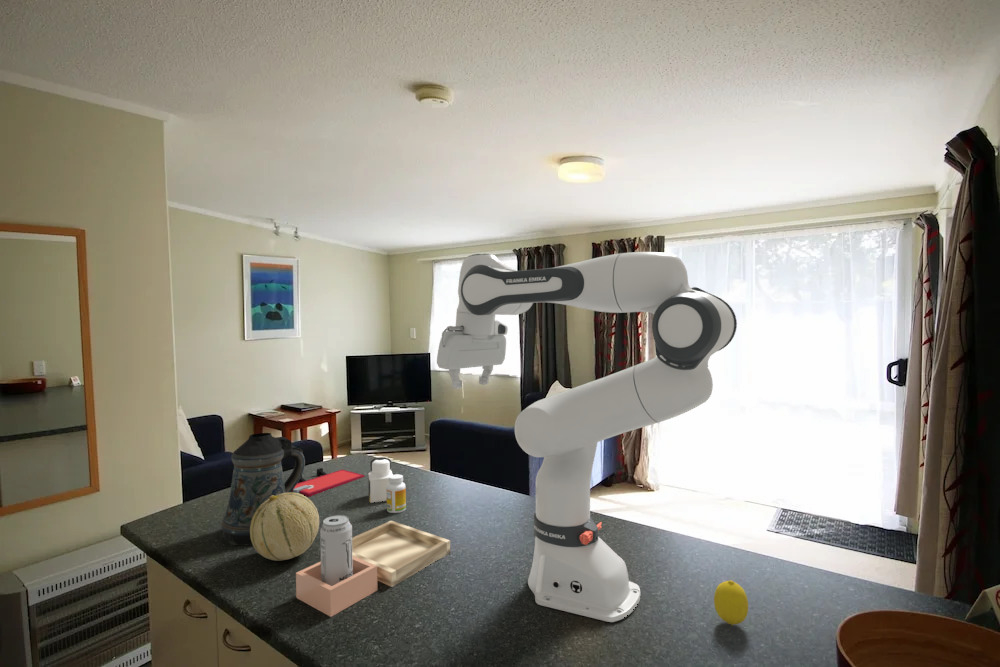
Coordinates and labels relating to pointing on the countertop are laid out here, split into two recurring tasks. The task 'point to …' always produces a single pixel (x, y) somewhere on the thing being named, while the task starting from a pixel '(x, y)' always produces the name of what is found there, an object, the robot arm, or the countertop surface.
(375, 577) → the frame
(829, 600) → the countertop surface
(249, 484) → the beer stein
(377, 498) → the white upright blocky piece
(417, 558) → the tray
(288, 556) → the cantaloupe
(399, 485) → the supplement bottle
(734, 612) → the lemon
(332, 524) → the energy drink can
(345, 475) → the red board with handle
